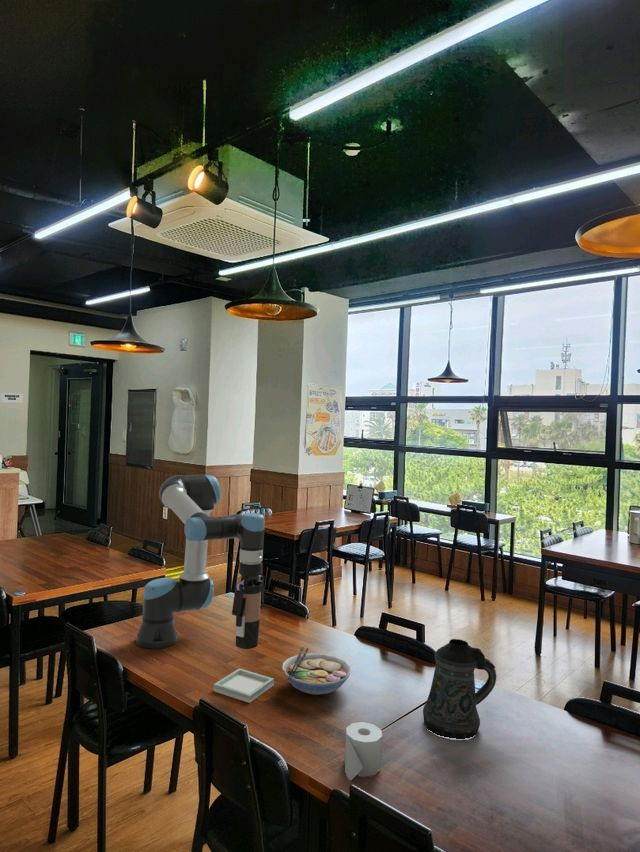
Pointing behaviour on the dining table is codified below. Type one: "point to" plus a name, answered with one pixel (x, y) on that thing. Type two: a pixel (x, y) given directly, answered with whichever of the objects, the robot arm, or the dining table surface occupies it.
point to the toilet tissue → (362, 749)
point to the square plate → (243, 685)
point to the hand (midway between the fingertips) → (247, 631)
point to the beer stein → (457, 690)
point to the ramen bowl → (316, 672)
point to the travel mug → (251, 617)
